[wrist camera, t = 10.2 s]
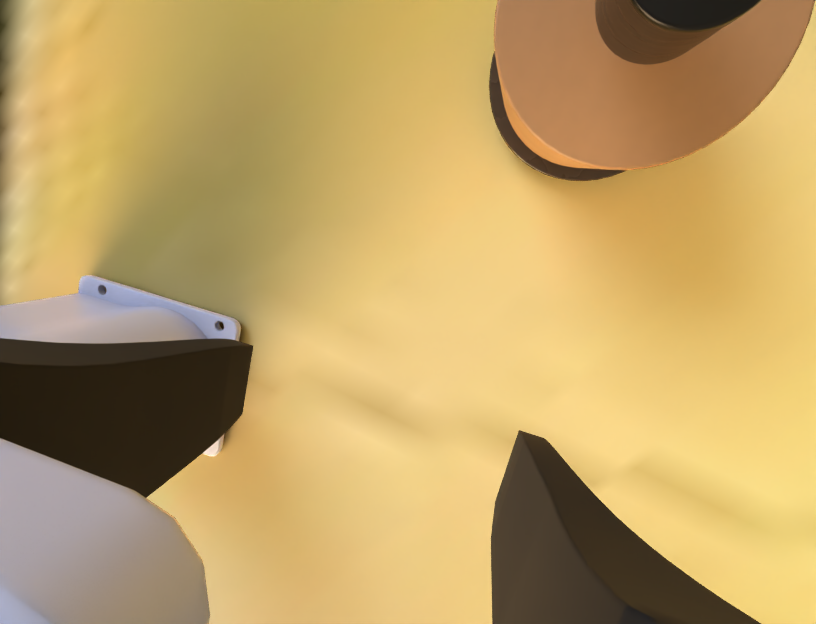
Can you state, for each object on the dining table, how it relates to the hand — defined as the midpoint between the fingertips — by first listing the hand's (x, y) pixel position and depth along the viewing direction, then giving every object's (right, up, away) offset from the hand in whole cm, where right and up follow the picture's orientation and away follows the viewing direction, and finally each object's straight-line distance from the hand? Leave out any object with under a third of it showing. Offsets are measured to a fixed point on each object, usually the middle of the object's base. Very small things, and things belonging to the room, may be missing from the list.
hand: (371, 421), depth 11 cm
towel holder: (+8, +12, +6) cm, 16 cm away
